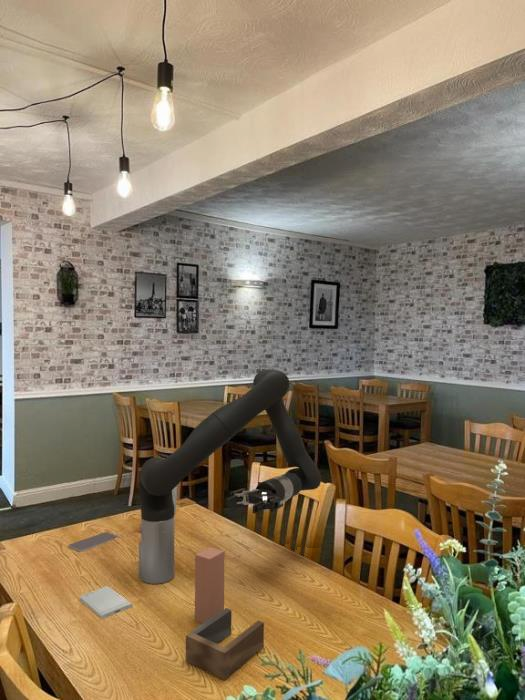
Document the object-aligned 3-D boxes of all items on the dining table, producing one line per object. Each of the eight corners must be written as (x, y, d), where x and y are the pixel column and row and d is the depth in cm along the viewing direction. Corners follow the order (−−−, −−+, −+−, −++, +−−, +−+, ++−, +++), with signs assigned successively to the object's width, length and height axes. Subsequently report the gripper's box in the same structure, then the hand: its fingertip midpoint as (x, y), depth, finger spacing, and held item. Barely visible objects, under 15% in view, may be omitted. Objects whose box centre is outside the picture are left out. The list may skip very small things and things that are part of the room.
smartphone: (119, 536, 174) (80, 550, 162) (119, 539, 174) (80, 553, 162) (105, 531, 179) (66, 545, 167) (105, 534, 179) (66, 547, 167)
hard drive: (79, 596, 133) (102, 614, 125) (108, 585, 139) (132, 602, 130) (79, 602, 134) (102, 621, 125) (108, 591, 139) (132, 609, 130)
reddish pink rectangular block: (194, 620, 124) (195, 554, 124) (209, 610, 129) (210, 546, 128) (209, 626, 122) (209, 559, 121) (223, 616, 126) (224, 551, 126)
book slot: (185, 661, 109) (185, 635, 109) (226, 631, 120) (226, 607, 120) (224, 680, 103) (225, 653, 103) (263, 647, 114) (263, 622, 114)
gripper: (254, 474, 152) (219, 487, 138) (296, 482, 144) (263, 497, 130) (254, 499, 152) (219, 515, 139) (296, 509, 144) (262, 526, 131)
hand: (240, 506), depth 135 cm, fingers open, 8 cm apart
